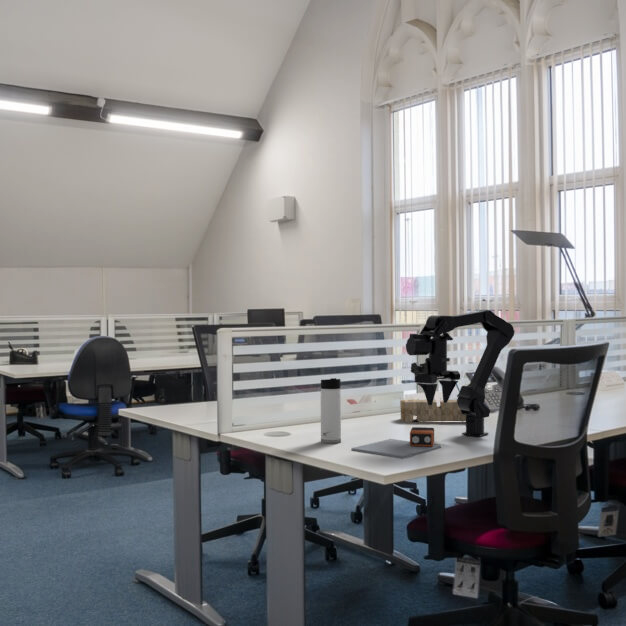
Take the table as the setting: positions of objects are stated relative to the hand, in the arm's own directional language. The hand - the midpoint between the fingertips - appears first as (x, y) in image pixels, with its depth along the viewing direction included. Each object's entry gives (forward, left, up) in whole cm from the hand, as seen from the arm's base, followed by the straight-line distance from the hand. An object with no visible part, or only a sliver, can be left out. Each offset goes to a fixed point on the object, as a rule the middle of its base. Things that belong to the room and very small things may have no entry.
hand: (437, 403), depth 233 cm
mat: (+23, 0, -11) cm, 26 cm away
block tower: (-32, -19, -11) cm, 39 cm away
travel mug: (+27, -22, -11) cm, 36 cm away
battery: (+10, +1, -8) cm, 13 cm away
